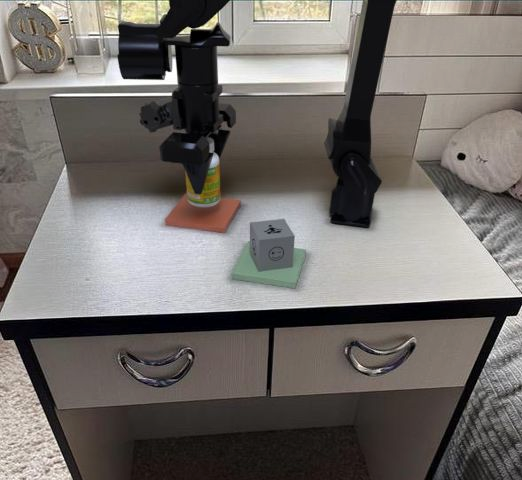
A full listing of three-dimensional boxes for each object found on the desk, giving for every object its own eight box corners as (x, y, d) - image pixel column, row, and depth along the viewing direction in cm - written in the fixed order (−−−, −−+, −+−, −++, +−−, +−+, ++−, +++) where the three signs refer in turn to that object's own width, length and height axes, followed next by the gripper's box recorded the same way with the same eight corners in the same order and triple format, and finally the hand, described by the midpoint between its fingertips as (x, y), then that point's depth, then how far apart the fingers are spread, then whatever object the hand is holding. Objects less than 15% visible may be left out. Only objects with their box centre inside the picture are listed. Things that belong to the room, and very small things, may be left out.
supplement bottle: (205, 211, 83) (202, 150, 76) (180, 201, 85) (175, 141, 79) (227, 199, 86) (225, 139, 79) (202, 190, 88) (199, 131, 82)
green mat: (305, 255, 79) (306, 249, 78) (295, 288, 72) (295, 282, 71) (247, 246, 80) (247, 241, 79) (232, 278, 73) (231, 272, 73)
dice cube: (258, 271, 73) (259, 240, 70) (249, 253, 77) (249, 222, 73) (292, 267, 74) (294, 235, 71) (282, 249, 78) (283, 218, 74)
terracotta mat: (240, 205, 90) (240, 200, 89) (224, 233, 83) (224, 227, 82) (185, 198, 92) (185, 192, 91) (165, 225, 84) (164, 219, 84)
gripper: (167, 59, 81) (176, 158, 92) (116, 94, 68) (133, 205, 78) (236, 65, 80) (237, 165, 90) (197, 102, 66) (204, 215, 77)
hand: (203, 186), depth 84 cm, fingers closed on supplement bottle, 5 cm apart
